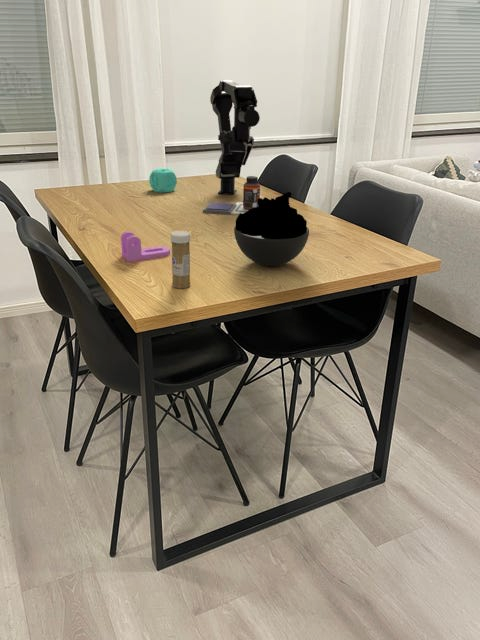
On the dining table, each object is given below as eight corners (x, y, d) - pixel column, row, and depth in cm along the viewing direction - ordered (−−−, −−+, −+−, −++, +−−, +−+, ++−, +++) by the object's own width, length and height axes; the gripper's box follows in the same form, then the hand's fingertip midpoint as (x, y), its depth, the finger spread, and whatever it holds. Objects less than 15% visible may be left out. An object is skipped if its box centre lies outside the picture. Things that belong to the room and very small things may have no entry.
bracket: (128, 262, 158) (127, 237, 155) (122, 256, 163) (120, 232, 160) (173, 255, 164) (172, 231, 161) (165, 249, 168) (164, 226, 166)
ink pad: (210, 205, 216) (210, 201, 215) (236, 206, 214) (236, 203, 214) (202, 212, 206) (202, 208, 206) (230, 214, 205) (230, 210, 204)
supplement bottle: (259, 210, 208) (260, 178, 204) (242, 210, 208) (243, 178, 204) (259, 206, 214) (260, 175, 209) (243, 206, 214) (243, 175, 209)
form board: (236, 203, 219) (236, 201, 219) (273, 205, 217) (273, 204, 217) (227, 213, 205) (227, 212, 205) (267, 216, 203) (267, 215, 203)
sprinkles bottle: (168, 285, 143) (166, 232, 137) (182, 280, 146) (180, 229, 140) (181, 290, 140) (179, 237, 135) (194, 285, 144) (194, 233, 138)
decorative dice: (177, 190, 237) (176, 170, 233) (162, 193, 231) (161, 173, 228) (164, 187, 241) (163, 167, 238) (149, 190, 236) (148, 170, 233)
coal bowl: (252, 281, 147) (254, 208, 139) (222, 256, 163) (222, 190, 155) (320, 271, 154) (326, 201, 146) (285, 249, 171) (289, 185, 163)
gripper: (225, 119, 218) (225, 161, 225) (214, 125, 202) (214, 170, 208) (254, 120, 217) (253, 163, 223) (245, 126, 200) (244, 172, 207)
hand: (241, 167), depth 215 cm, fingers open, 9 cm apart
